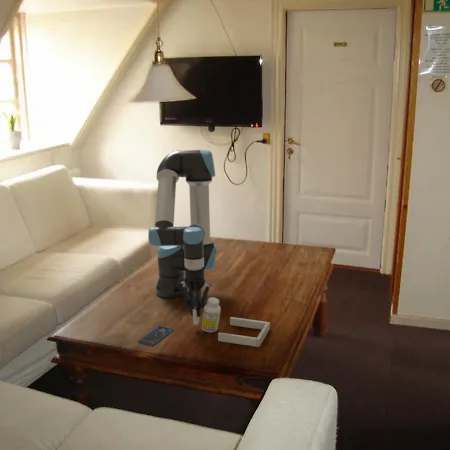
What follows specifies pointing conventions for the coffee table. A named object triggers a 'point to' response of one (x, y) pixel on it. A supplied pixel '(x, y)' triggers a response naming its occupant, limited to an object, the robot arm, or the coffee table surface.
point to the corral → (245, 339)
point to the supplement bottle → (211, 315)
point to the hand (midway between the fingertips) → (196, 323)
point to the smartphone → (155, 336)
